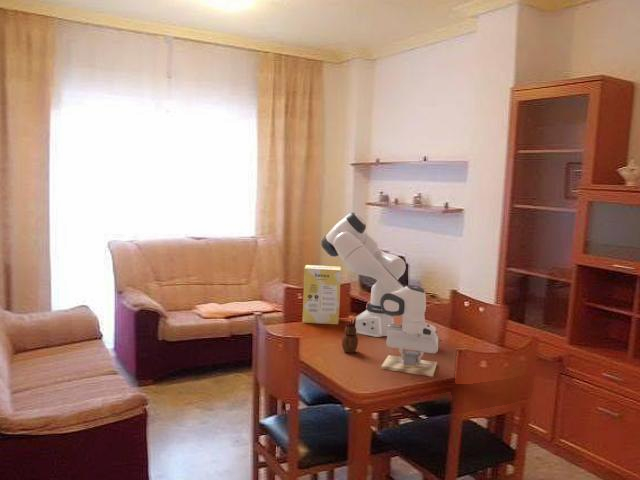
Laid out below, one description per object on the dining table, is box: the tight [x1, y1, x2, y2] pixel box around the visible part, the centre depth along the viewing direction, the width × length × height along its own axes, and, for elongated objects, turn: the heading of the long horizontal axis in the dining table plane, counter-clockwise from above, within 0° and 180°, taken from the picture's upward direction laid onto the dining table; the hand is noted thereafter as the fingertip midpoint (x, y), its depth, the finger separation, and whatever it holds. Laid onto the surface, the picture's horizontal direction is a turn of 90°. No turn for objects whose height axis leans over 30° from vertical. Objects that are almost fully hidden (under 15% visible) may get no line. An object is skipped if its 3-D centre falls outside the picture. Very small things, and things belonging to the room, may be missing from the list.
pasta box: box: [302, 264, 342, 325], centre depth 275 cm, size 18×10×28 cm, turn 86°
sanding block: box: [403, 350, 419, 368], centre depth 212 cm, size 4×8×4 cm, turn 161°
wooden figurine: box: [341, 317, 359, 354], centre depth 228 cm, size 7×6×15 cm
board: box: [380, 354, 438, 378], centre depth 213 cm, size 20×14×1 cm
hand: (410, 360), depth 212 cm, fingers closed on sanding block, 4 cm apart
